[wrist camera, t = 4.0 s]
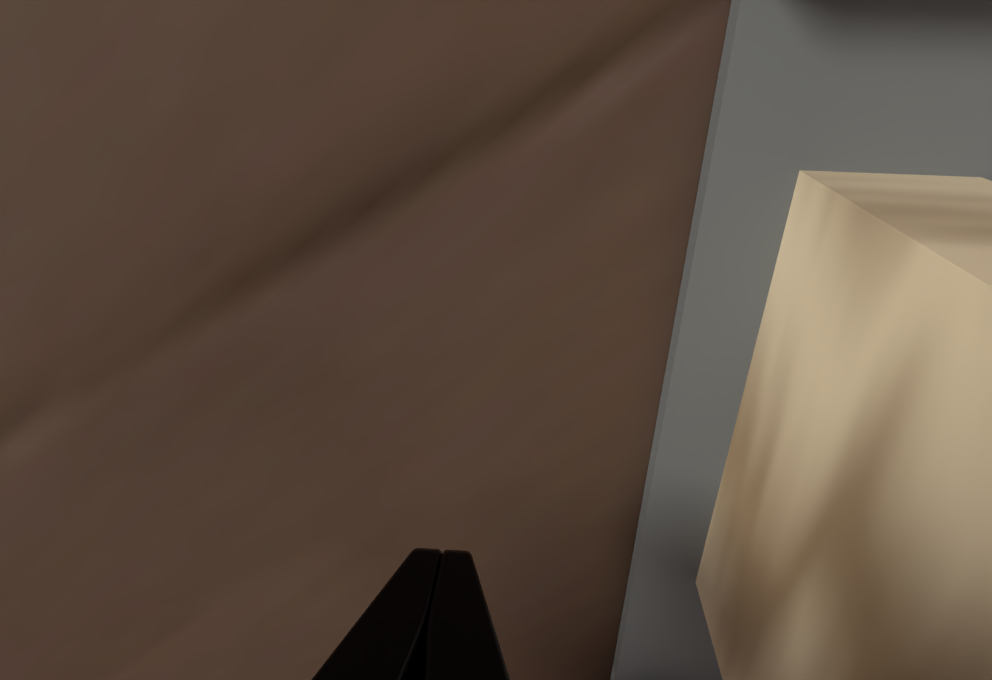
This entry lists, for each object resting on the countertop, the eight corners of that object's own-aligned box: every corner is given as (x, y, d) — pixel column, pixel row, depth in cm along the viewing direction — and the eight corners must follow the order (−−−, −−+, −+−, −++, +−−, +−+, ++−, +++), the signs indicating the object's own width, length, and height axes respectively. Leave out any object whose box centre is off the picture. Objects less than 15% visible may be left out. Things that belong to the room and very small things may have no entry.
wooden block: (819, 589, 15) (1068, 1098, 8) (695, 582, 15) (832, 1076, 8) (981, 177, 10) (1926, 530, 3) (799, 170, 10) (1338, 496, 3)
